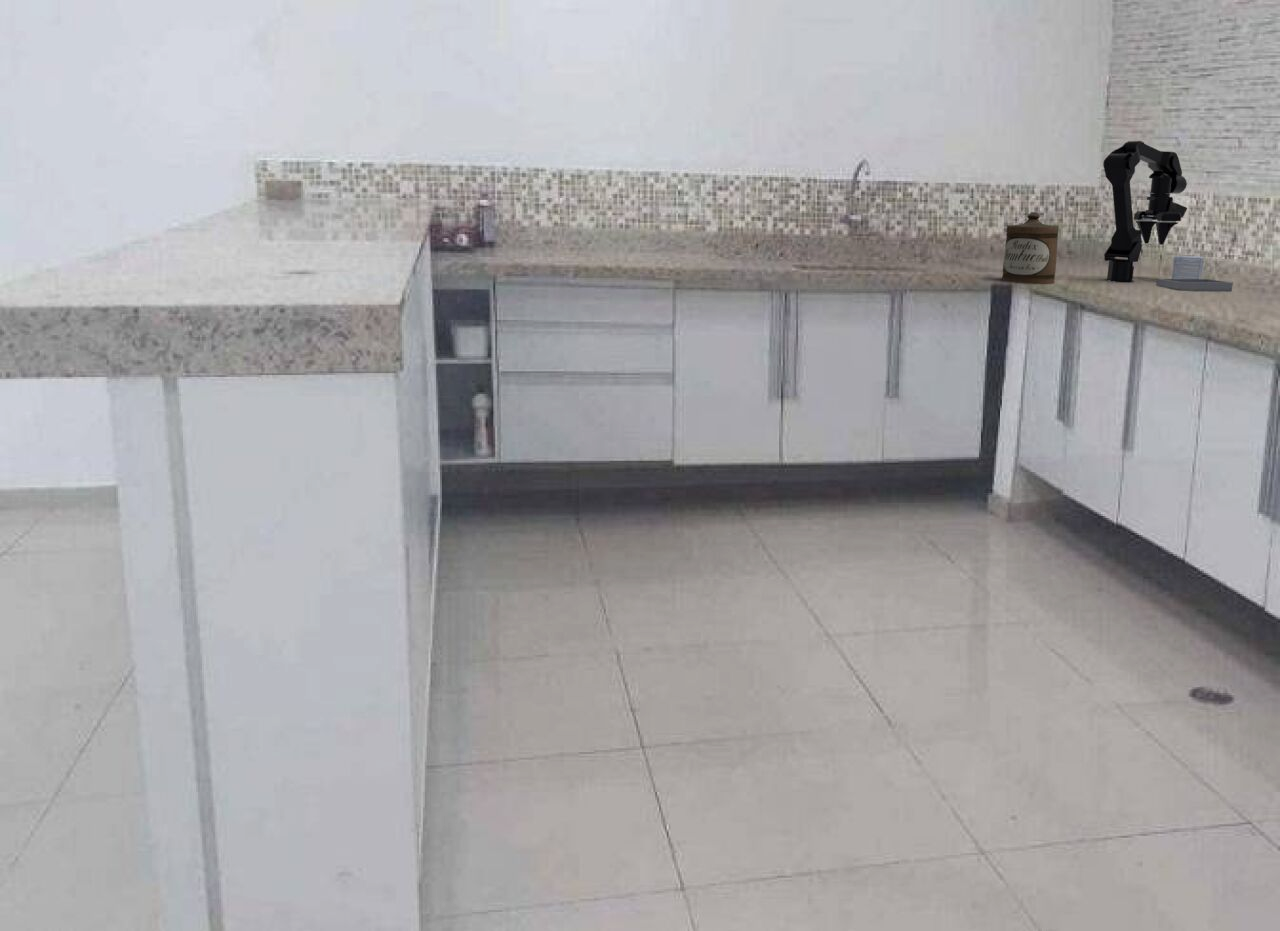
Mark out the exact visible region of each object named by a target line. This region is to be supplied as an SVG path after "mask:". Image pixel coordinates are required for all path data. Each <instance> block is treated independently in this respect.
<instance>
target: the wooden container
mask: <svg viewBox="0 0 1280 931" xmlns="http://www.w3.org/2000/svg"><path fill="white" fill-rule="evenodd" d="M1026 217H1027V220H1026V221H1025V222H1024V223H1021V224H1011V225H1010V224H1009V225H1007V226H1006V231H1005V232H1006V233H1005V234H1006V235H1005V236H1006V240H1005V249H1004V256H1003V264H1002V265H1003V266H1002V278H1001V280H1002V281H1006V282H1012V283H1013V282H1014V283H1019V284H1020V283H1021V284H1022V283H1023V284H1032V285H1033V284H1034V285H1035V284H1036V285H1053V284H1055V280H1056V278H1055V276H1056V268H1057V260H1058V259H1057V257H1058V255H1057V254H1058V242H1059V240H1058V239H1059V231H1060V229H1059V226H1058V225H1051V224H1044V223H1043V222H1041V221H1040V217H1041V215H1040V213H1038V212H1036V211H1031V212H1030V213H1028V214H1027V215H1026Z"/></svg>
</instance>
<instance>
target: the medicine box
mask: <svg viewBox="0 0 1280 931" xmlns="http://www.w3.org/2000/svg"><path fill="white" fill-rule="evenodd" d="M1173 258H1174V259H1173V266H1172V273H1171V279H1203V277H1202V276H1203V268H1204V261H1205V257H1204V256H1191V255H1190V256H1189V255H1186V256H1185V255H1177V256H1174V257H1173Z"/></svg>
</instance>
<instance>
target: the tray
mask: <svg viewBox="0 0 1280 931" xmlns="http://www.w3.org/2000/svg"><path fill="white" fill-rule="evenodd" d="M1155 282H1156V283H1155V286H1156V285H1157V286H1158V287H1161V288H1166V289H1170V290H1175V291H1179V292H1180V291H1183V292H1185V291H1187V292H1232V291H1233V285H1234V284H1233V283H1234V282H1232V281H1225V280H1216V279H1210V278H1201V279H1172V278H1156V281H1155Z"/></svg>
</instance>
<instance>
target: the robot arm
mask: <svg viewBox="0 0 1280 931" xmlns="http://www.w3.org/2000/svg"><path fill="white" fill-rule="evenodd" d="M1141 161H1142V162H1145V163H1147V168H1149V169H1150V170H1151V171H1152V172H1153V173H1151V174H1150V175H1149V176H1148V178H1149V179H1151V184H1150V193H1149V196H1147V197H1146V201H1148V207H1147V209H1145V210H1137V211H1136V212H1135V213H1134V214H1133V206H1132V204H1133V203H1132V202H1133V201H1132V192H1131V180H1132V178H1133V176H1134V174H1135V173H1136V166H1138V164H1139V163H1140V162H1141ZM1102 164H1103V169H1104V170H1103V171H1104V175H1105V178H1106V179H1107V180H1108V182H1109V183H1110V184H1111V188H1112V198H1113V210H1114V221H1115V222H1114V223H1115V232H1114V233H1113V234H1112V237H1111V239H1110V241H1111V243H1110V245H1109V246H1108V248H1107V250H1105V253H1104V254H1103V259H1104V262H1108V265H1107V266H1108V268H1107V275H1106V276H1107V277H1106V278H1105V279H1106V280H1105V281H1108V280H1110V281H1109V282H1113V281H1115V282H1117V283H1119V282H1121V283H1122V282H1123V283H1124V282H1125V283H1127V282H1128V283H1131V282H1134V279H1133V278H1134V270H1135V267H1134V265H1133V264H1134V263H1138V262H1139V259H1140V255H1141V252H1142V250H1143V249H1142V248H1143V244H1142V243H1143V242H1144V244H1149V242H1150V239H1151V234H1152V231H1153V227H1154V226H1155V228H1156V233H1157V234H1156V235H1157V240H1158V244H1159V245H1160V246H1162V245H1163V246H1164V244H1165V241H1166V239H1167V237H1168V236H1169V233H1170V231H1171V229H1172V228H1173V227H1174V226H1176V225H1178V224H1179V222H1181V221H1182V219H1183V218H1184V216H1185V214H1186V212H1187V209H1188V207H1186V206H1184V205H1181V204H1179V203H1177V202H1174V198H1173V196H1171V194H1172V195H1173V194H1174V195H1175V194H1176V195H1178V194H1181V193H1183V192H1184V191H1185V190H1186V188H1187V185H1188V183H1187V179H1186V177H1185V176H1183V175H1182V174H1183V171H1182V170H1183V169H1182V166H1181V163H1180V159H1179V155H1178V154H1177V153H1176V152H1175V151H1163V150H1162V151H1161V150H1159V149H1157V148H1154V147H1153V146H1150V145H1148V144H1146V143H1145V142H1144V141H1142V140H1129V141H1126V142H1125V143H1124V144H1123V145H1122V146H1120V147H1118V148H1116V149H1115V150H1113V151H1110V153H1109V154H1108V155H1107V157H1106V158H1105V159H1104V161H1103V163H1102ZM1134 220H1135V223H1136V225H1137V226H1138V229H1136V228H1135V227H1134ZM1142 239H1143V240H1142ZM1115 282H1114V283H1115Z"/></svg>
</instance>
